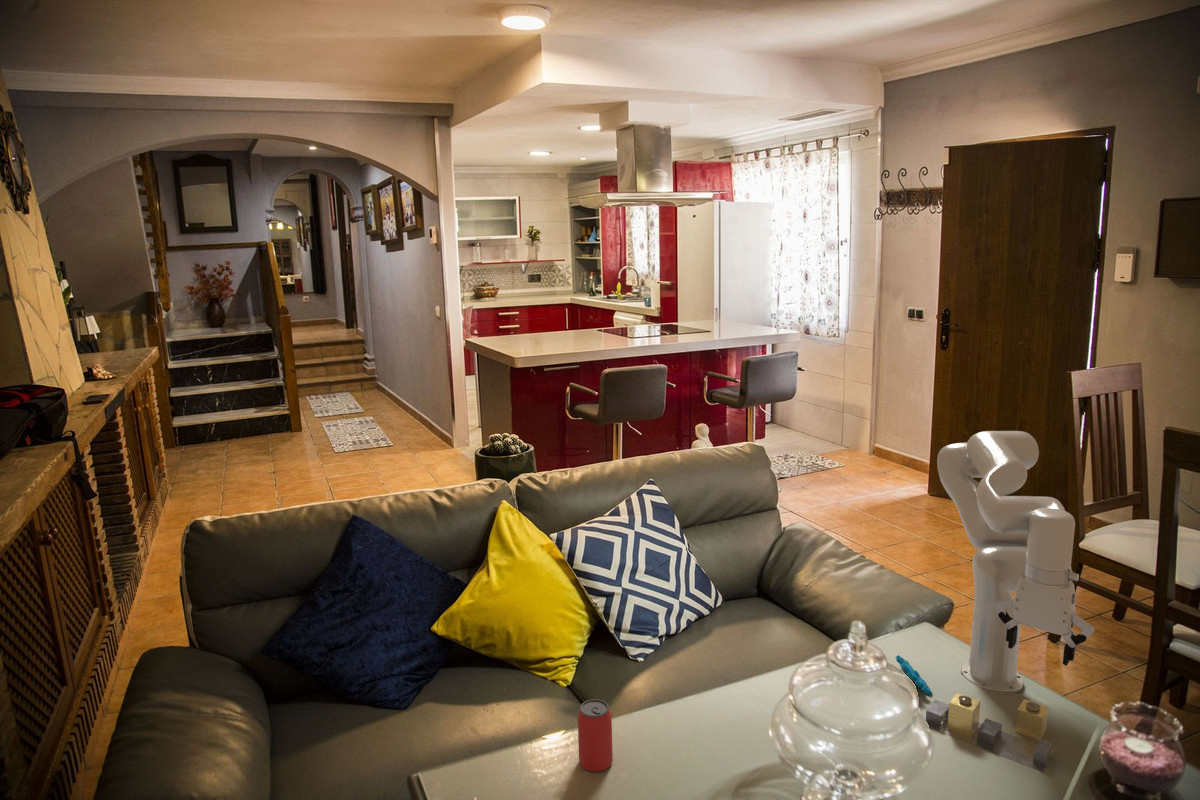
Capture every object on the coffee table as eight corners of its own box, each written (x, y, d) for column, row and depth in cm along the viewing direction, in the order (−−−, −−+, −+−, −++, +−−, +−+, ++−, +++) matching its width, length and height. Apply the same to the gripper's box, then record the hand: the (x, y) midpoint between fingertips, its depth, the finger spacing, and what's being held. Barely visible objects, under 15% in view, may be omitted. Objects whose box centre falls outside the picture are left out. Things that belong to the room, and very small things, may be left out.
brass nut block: (1021, 725, 160) (1024, 696, 159) (1045, 734, 157) (1048, 704, 156) (1015, 735, 157) (1017, 706, 156) (1039, 745, 154) (1043, 715, 153)
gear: (939, 698, 167) (905, 664, 168) (918, 716, 168) (885, 682, 169) (926, 677, 178) (895, 644, 179) (907, 693, 179) (875, 661, 180)
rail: (936, 711, 166) (937, 696, 165) (1053, 755, 151) (1055, 739, 150) (922, 729, 160) (923, 713, 159) (1042, 776, 145) (1044, 760, 144)
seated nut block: (955, 718, 161) (957, 689, 160) (978, 727, 158) (980, 698, 157) (947, 729, 158) (949, 699, 157) (970, 738, 155) (973, 708, 154)
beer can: (588, 778, 148) (586, 721, 145) (573, 758, 154) (571, 703, 151) (618, 766, 151) (617, 711, 148) (603, 747, 157) (601, 693, 154)
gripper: (1103, 578, 147) (1093, 661, 150) (1004, 555, 158) (997, 632, 162) (1094, 592, 141) (1085, 677, 145) (992, 567, 153) (985, 646, 156)
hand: (1038, 653), depth 153 cm, fingers open, 9 cm apart
